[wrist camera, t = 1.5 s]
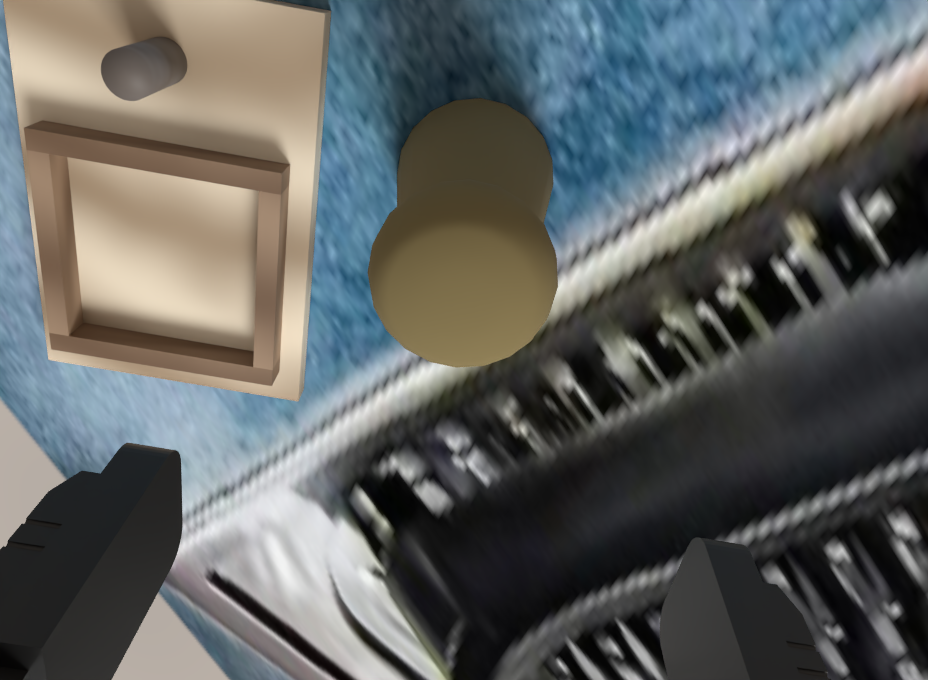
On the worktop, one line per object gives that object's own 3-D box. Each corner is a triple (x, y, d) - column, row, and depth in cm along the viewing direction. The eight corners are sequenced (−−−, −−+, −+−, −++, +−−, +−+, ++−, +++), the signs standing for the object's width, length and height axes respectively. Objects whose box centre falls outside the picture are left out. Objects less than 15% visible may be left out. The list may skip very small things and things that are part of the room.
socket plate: (14, -49, 25) (-65, -46, 22) (330, 10, 26) (303, 22, 22) (60, 348, 33) (8, 397, 30) (303, 389, 33) (280, 442, 30)
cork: (516, 272, 30) (521, 430, 21) (377, 219, 29) (314, 357, 20) (580, 135, 27) (620, 243, 18) (428, 72, 27) (384, 149, 17)
